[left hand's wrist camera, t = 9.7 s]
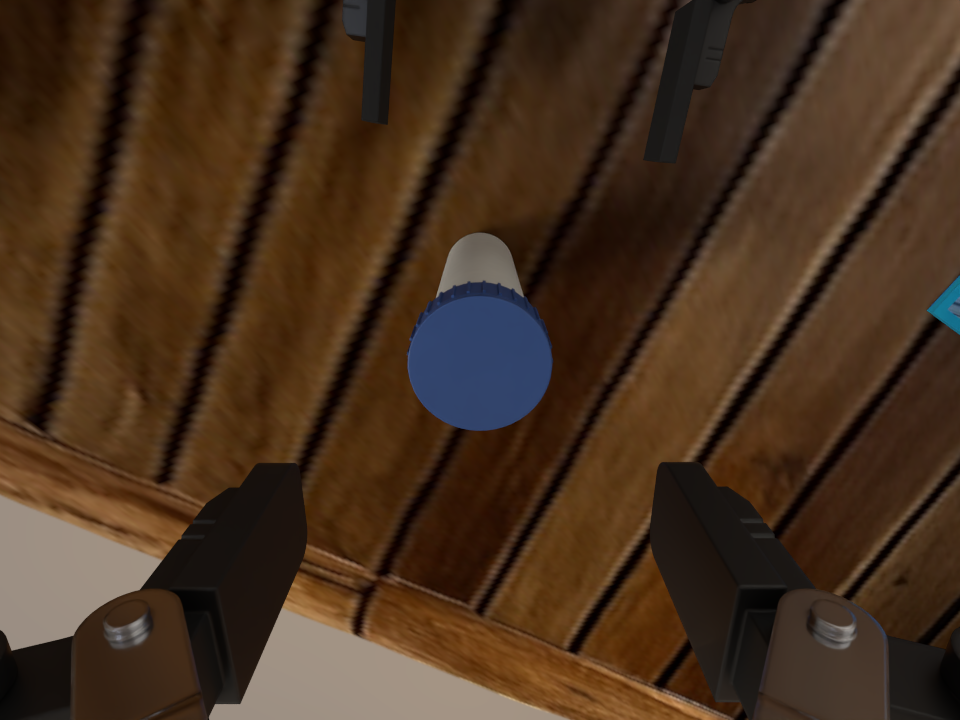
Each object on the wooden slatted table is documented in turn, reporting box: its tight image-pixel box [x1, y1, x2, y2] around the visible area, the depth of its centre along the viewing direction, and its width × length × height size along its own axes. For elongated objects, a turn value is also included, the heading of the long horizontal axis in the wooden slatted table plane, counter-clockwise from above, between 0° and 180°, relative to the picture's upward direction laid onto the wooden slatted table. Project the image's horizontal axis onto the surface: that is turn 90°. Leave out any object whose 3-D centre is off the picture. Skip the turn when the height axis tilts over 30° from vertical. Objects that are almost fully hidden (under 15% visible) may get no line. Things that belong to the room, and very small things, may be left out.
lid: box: [407, 280, 553, 431], centre depth 20 cm, size 5×5×2 cm
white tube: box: [436, 233, 524, 298], centre depth 27 cm, size 4×4×17 cm
